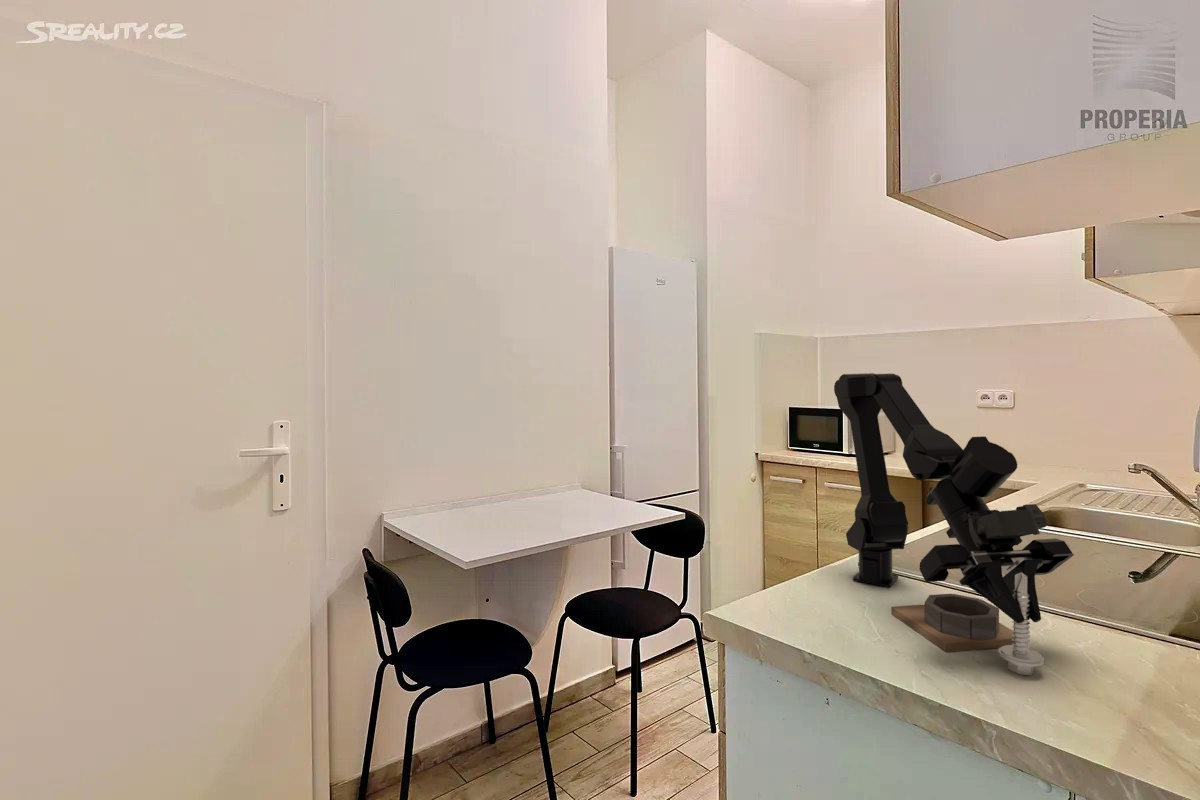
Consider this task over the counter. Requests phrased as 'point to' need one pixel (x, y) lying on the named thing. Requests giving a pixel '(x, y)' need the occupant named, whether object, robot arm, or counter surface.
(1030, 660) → the screw
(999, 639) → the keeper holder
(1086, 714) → the counter surface
